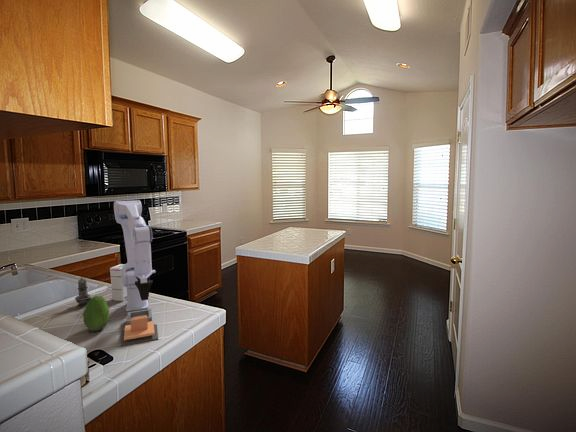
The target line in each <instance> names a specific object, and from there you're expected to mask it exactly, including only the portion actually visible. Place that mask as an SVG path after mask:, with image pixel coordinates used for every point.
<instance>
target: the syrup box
mask: <svg viewBox="0 0 576 432" xmlns="http://www.w3.org/2000/svg"><path fill="white" fill-rule="evenodd" d="M125 264H126V263H124V264H123V263H120V264H118V265H115V266H112V267H110V268H109V272H110V273H109V275H110V282H111V283H110V286H111V296H112V301H116V302H117V301H118V302H125V301H127V289H126V287H124V286H123V284H122V279H121V269H122V267H123V266H124V265H125Z"/></svg>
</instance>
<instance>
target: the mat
mask: <svg viewBox="0 0 576 432" xmlns="http://www.w3.org/2000/svg"><path fill="white" fill-rule="evenodd" d="M154 331H155V335H150V336H146V337H140V338H135V339H128V340H124V332H125V329H122V331H121V338H120V339H121V340H120V347H125V346H130V345H131V346H132V345H136V344H141V343H146V342H152V341H158V340H159V333H158V332H159V331H158V324H157V323H154Z"/></svg>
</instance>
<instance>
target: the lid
mask: <svg viewBox="0 0 576 432" xmlns="http://www.w3.org/2000/svg"><path fill="white" fill-rule="evenodd" d="M154 324H155V321H154V320H152V321H150V322H147V315H143V316H137V317H131V325H127V324H126V325H125V327H124V330H125V332H124V340H128V339H135V338H140V337H146V336H150V335H155V331H154Z"/></svg>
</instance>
